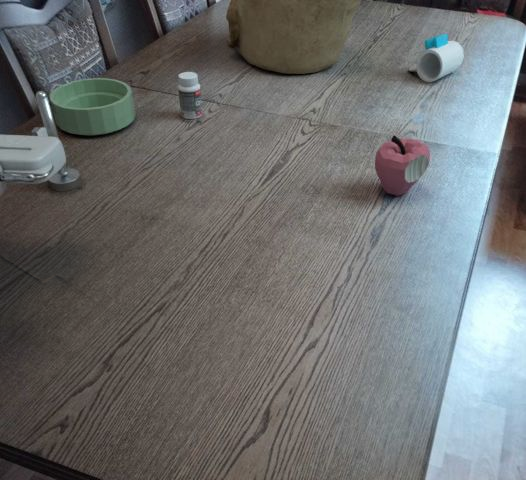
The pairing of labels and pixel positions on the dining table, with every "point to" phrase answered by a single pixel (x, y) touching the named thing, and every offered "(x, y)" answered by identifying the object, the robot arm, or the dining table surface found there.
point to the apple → (401, 164)
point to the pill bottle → (189, 95)
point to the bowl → (93, 106)
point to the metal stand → (65, 176)
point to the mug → (438, 58)
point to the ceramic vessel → (290, 32)
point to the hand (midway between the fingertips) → (11, 130)
